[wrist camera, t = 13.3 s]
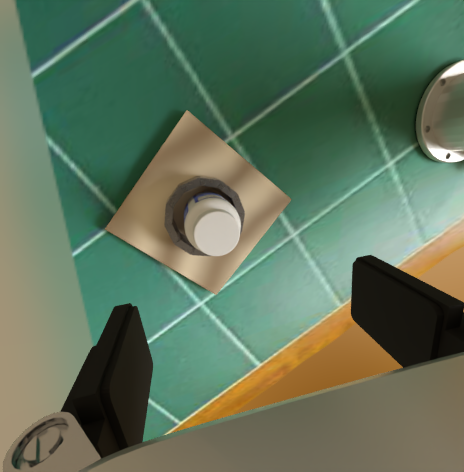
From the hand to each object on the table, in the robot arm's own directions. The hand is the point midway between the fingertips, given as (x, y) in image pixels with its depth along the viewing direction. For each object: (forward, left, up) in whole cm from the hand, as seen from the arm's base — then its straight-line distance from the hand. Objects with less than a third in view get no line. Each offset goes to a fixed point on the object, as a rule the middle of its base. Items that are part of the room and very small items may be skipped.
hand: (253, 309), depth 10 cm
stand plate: (0, 0, -22) cm, 22 cm away
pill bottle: (0, 0, -21) cm, 21 cm away
